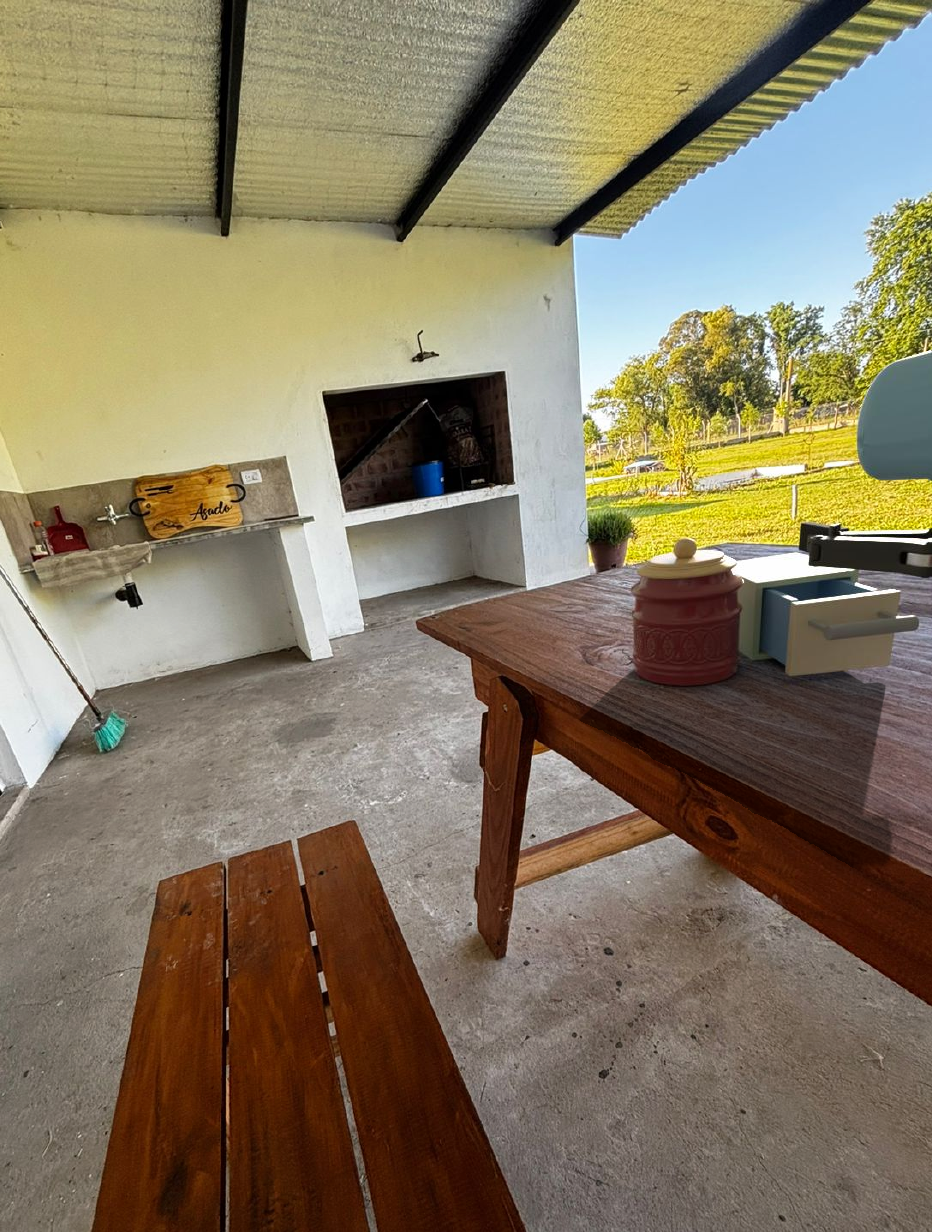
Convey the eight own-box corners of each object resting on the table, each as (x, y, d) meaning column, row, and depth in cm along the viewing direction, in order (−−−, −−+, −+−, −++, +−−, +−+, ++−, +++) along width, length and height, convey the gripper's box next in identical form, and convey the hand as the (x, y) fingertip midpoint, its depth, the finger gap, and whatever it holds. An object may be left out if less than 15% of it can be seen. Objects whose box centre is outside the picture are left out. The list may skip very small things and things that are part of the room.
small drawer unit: (849, 650, 68) (859, 569, 65) (752, 660, 70) (756, 583, 67) (790, 620, 82) (796, 552, 78) (710, 630, 84) (712, 564, 80)
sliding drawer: (922, 682, 56) (936, 601, 53) (813, 692, 58) (821, 615, 55) (822, 633, 73) (828, 569, 70) (740, 642, 75) (743, 581, 72)
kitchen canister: (761, 665, 69) (770, 527, 62) (694, 696, 64) (697, 550, 58) (675, 647, 80) (675, 528, 74) (612, 672, 75) (607, 548, 69)
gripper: (874, 639, 36) (741, 580, 56) (1343, 586, 32) (1019, 542, 51) (890, 528, 34) (744, 507, 53) (1404, 453, 29) (1038, 460, 48)
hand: (879, 524), depth 52 cm, fingers open, 13 cm apart
